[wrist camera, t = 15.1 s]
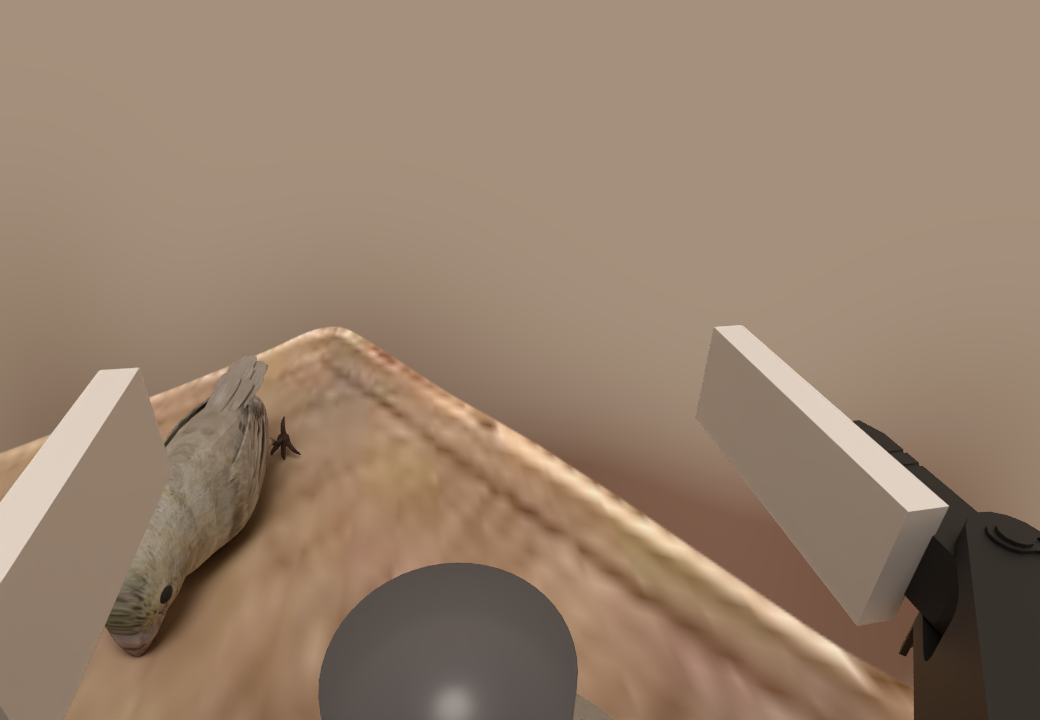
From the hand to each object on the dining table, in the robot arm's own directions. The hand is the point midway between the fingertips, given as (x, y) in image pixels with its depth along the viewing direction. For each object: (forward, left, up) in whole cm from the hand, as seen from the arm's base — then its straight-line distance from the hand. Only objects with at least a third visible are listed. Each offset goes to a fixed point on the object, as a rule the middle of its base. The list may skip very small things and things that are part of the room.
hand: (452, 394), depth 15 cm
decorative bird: (-20, +5, -19) cm, 28 cm away
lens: (+2, -3, -18) cm, 18 cm away
